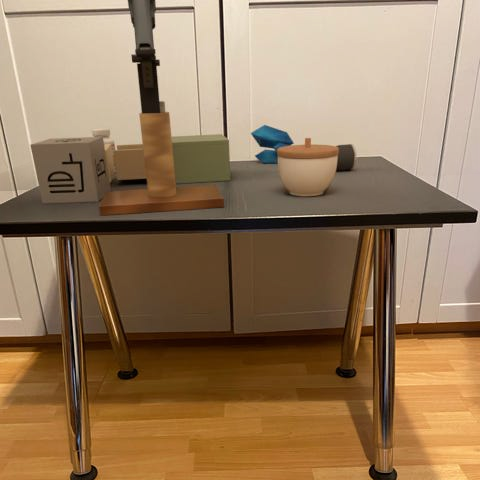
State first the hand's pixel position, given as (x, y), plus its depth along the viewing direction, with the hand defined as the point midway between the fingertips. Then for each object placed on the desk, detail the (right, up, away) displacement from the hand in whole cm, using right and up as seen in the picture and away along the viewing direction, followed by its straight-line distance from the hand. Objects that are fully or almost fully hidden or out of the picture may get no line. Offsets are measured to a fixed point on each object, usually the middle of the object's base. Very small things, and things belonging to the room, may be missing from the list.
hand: (151, 111), depth 77 cm
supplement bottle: (-18, +2, +39) cm, 43 cm away
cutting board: (+1, -13, +7) cm, 15 cm away
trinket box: (+26, -10, +11) cm, 30 cm away
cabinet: (+4, -2, +29) cm, 29 cm away
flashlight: (+32, -1, +30) cm, 44 cm away
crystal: (+22, +6, +45) cm, 50 cm away
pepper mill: (+1, -12, +6) cm, 13 cm away
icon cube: (-16, -10, +14) cm, 24 cm away
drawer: (-10, -3, +27) cm, 28 cm away
